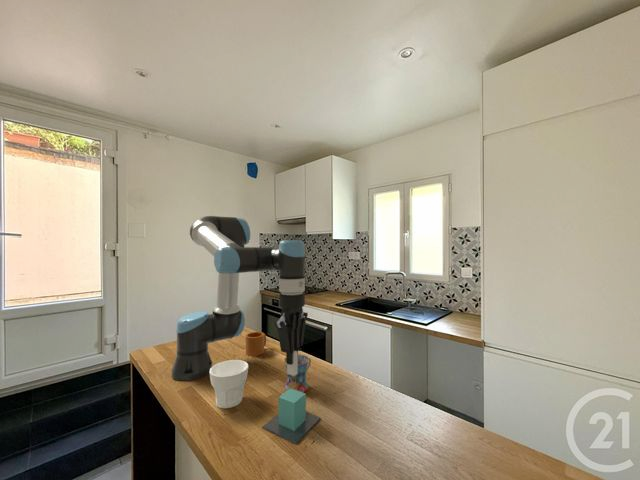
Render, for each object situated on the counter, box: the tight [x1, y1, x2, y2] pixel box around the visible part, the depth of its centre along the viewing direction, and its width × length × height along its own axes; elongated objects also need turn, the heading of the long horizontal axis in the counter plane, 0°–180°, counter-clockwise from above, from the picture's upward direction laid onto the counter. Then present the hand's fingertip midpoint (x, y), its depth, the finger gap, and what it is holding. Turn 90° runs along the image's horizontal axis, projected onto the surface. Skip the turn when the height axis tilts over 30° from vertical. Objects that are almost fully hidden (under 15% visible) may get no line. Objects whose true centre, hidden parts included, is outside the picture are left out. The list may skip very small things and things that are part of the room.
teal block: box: [278, 389, 307, 431], centre depth 78 cm, size 6×6×8 cm
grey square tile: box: [262, 411, 321, 446], centre depth 78 cm, size 12×12×6 cm
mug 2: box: [283, 354, 312, 393], centre depth 97 cm, size 12×9×11 cm
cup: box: [208, 359, 249, 409], centre depth 89 cm, size 12×12×11 cm
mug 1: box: [245, 331, 267, 357], centre depth 130 cm, size 9×12×9 cm
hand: (292, 373), depth 78 cm, fingers closed
